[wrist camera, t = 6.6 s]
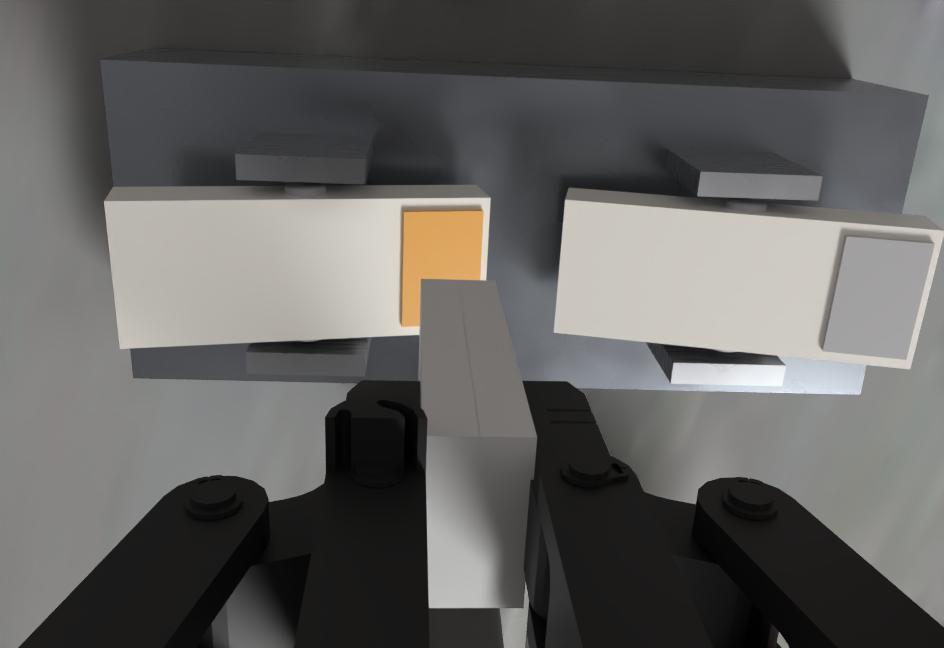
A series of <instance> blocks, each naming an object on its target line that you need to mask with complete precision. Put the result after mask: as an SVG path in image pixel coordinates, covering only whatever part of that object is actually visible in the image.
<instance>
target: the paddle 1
mask: <svg viewBox="0 0 944 648" xmlns="http://www.w3.org/2000/svg"><path fill="white" fill-rule="evenodd" d="M490 200H491V198H490V197H489V196H488V195H487V194H486V193H485V192H484V191H483V190H482V189H480V188H479V187H478V186H477V185H340V186H325V185H324V184H321V183H311V182H294V183H289V184H286V185H285V186H166V187H113V188H112V189H111V191H110V193H109V194H108V196H107V197H106V199H105V200H104V207H105V216H106V225H107V234H108V244H109V253H110V262H111V271H112V280H113V289H114V298H115V307H116V317H117V326H118V335H119V344H120V349H128V348H150V347H171V346H192V345H213V344H234V343H256V342H277V341H303V342H312V341H318V340H322V339H341V338H362V337H383V336H404V335H419V330H420V291H421V279H450V280H486V274H487V255H488V237H489V218H490Z"/></svg>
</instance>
